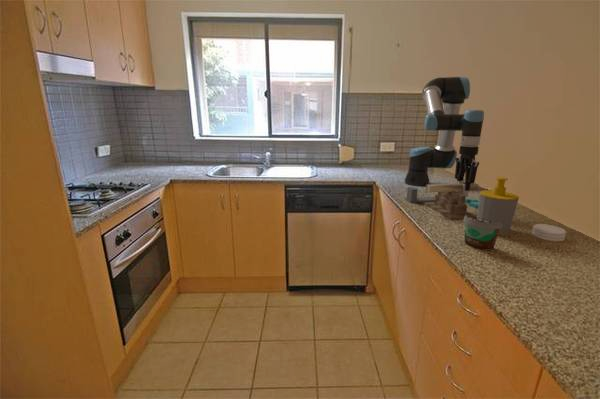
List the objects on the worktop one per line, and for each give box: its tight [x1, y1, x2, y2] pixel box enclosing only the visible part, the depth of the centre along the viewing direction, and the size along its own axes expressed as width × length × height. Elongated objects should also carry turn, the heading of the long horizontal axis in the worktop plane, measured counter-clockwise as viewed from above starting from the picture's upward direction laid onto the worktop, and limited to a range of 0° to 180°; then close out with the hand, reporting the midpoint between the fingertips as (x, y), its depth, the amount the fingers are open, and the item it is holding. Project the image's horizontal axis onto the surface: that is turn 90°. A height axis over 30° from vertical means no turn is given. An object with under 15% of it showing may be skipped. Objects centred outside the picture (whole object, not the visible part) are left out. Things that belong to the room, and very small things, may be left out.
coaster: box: [531, 223, 567, 242], centre depth 118 cm, size 10×10×4 cm
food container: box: [462, 214, 503, 251], centre depth 108 cm, size 12×6×10 cm, turn 45°
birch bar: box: [425, 182, 479, 193], centre depth 144 cm, size 3×24×3 cm, turn 97°
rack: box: [404, 186, 435, 204], centre depth 163 cm, size 6×24×7 cm, turn 97°
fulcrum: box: [424, 191, 477, 220], centre depth 146 cm, size 22×12×10 cm, turn 7°
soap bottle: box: [476, 176, 520, 236], centre depth 122 cm, size 13×13×21 cm
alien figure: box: [465, 197, 479, 209], centre depth 157 cm, size 20×2×20 cm
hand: (461, 195), depth 146 cm, fingers open, 4 cm apart
